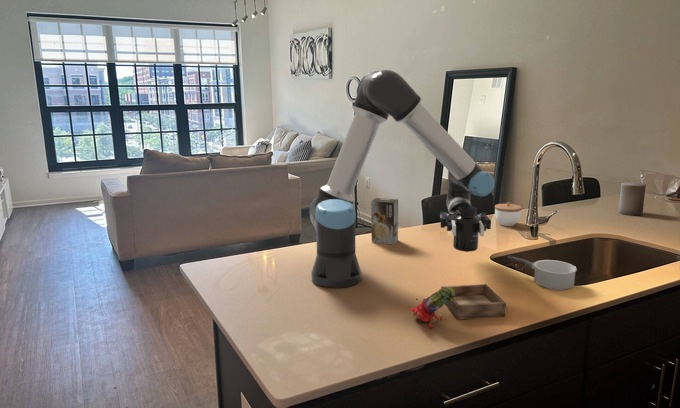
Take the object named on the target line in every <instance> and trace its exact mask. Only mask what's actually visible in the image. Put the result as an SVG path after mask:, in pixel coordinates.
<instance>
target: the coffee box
mask: <svg viewBox="0 0 680 408" xmlns="http://www.w3.org/2000/svg"><path fill="white" fill-rule="evenodd" d="M370 206H371V207H370V208H371V214H370V216H371V218H370V219H371V220H370V221H371V223H370V224H371V226H370V227H371V231H370V232H371V243H374V244H376V243H377V244H385V245H386V244H387V245H396V243H397V242H398V241H399V199H396V198H395V199H393V198H381V197H375V198H373V199H372V200H371V202H370Z"/></svg>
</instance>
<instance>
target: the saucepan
mask: <svg viewBox="0 0 680 408" xmlns="http://www.w3.org/2000/svg"><path fill="white" fill-rule="evenodd" d="M507 259H509V260H513V261H516V262H519V263H522V264H524V265H526V266H527V267H528V268H529V269H533V270H534V276H533V277H534V278H533V280H534V282H535V283H537V284H538V285H539V286H541V287H543V288H546V289H549V290H557V291H562V290H568V289H570V288H573V287H574V286H575V277H576V272H577V271H578V269H577V267H576V266H575V265H574V264H572V263H569V262H565V261H561V260H553V259H544V260H543V259H541V260H537V261H534V262H533V261H532V262H531V261H529V260H528V259H524V258H520V257H518V256H517V257H516V256H513V255H508V256H507Z"/></svg>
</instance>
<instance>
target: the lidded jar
mask: <svg viewBox="0 0 680 408" xmlns="http://www.w3.org/2000/svg"><path fill="white" fill-rule="evenodd" d="M494 215H495V219H496V221H497V222H498V223H499V225H501V226H504V227H513V226H516V224H517V223H518V222H519V221H520V219H521V215H522V206H521V205H519V204H514V203H510V202H509V201H508V202H506V203H497V204H495V205H494Z"/></svg>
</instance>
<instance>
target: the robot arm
mask: <svg viewBox="0 0 680 408" xmlns="http://www.w3.org/2000/svg"><path fill="white" fill-rule="evenodd" d="M352 110H353V112H354V113H353V114H354V116H353V117H352V120H351V122H350V125H349V128H348V130H347V133H346V135H345V138H344V140H343V143H342V145H341V148H340V150H339V153H338V154H337V155H338V156H337V157H336V160H335V163H334V166H333V168H332V170H331V172H330V175H329V178H328V181H327V183H326V184H325V185H323V186H320V189H319V191H318V193H317V196H316V197H315V198H314V199H313V200H312V202H311V204H310V207H309V211H308V215H309V220H310V222H311V224H312V226H313V227H314V230H315V232H316V233H315V235H316V256H315V260H314V262H313V265H312V269H311V281H312V283H314V284H315V285H317V286H320V287H323V288H331V289H332V288H334V289H338V288H339V289H340V288H348V287H353V286H355V285H357V284H359V283H360V282H361V281H362V270H361V267H360V264H359V260H358V258H357V257H358V256H357V255H356V254H357V253H356V219H357V214H356V208H355V206H354V202H355V199H354V197H353V192H354V189H355V187H356V185H357V183H358V179H359V176H360V175H361V172H362V169H363V167H364V165H365V162H366V160H367V157H368V155H369V153H370V150H371V148H372V145H373V142H374V140H375V137H376V135H377V133H378V130H379V129H380V128H379V127H380V125H382V124H383V123H385V122H387V121H388V118H389V116H390V117H392V119H393V120H394V121H395V122H396V123H402V124H403V125H404V126H405V127H406V128H407V129H408V131H410V132H411V133H412V135H414V137H416V139H418V141H420V143H422V144H423V146H424V147H425V148H426V149H427V151H429V152H430V153H431V154H432V155H433V156H434V157H435V158H436V160H438V162H440V164H441V165H442V166H443V167H444V168H445V169H446V170H447V193H446V196H447V197H446V203H445V205H446V209H447V211H448V212H445V211H440V213H439V220H440V228H442V229H443V228H446V232H451V234H452V236H453V237H454V236H456V224H455V218H456V217H457V216H459V214H458V211H459V207H460V206H472V204H471V194H472V195H474V196H477V197H486V196H488V195H490V194H491V192H492V191H494V190H493V189H494V188H495V180H494V177H493V175H492V174H490V173H488V171H485V170H483V169H482V168H481V167H480V166H479V164H477V163H476V162H475V161H474V160H473V158H472V157H471V156H470V155H469V154H468V153H467V152H466V151H465V149H464V148H463V147H462V146H461V145H460V144H459V143H458V142H457V141H456V140H455V139H454V138H453V137H452V136H451V134H450V133H449V132H448V131H447V130H446V129H445V128H444V127H443V126H442V124H440V122H438V121H437V119H436V118H435V117H434V116H433V115H432V114H431V113H430V112H429V111H428V109H427V108H425V106H424V105H423V104H422V98H421V97H420V95H419V94H418V93H417V92H416V91H415V90H414V89H413V88H412V86H411V85H410V84H409V83H408V82H407V81H406V79H404V77H403V76H401V75H400V74H399V73H397V72H395V71H393V70H390V69H383V70H376V71H371V72H369V73H366V74H365V75H364V76H363V77H362V78H361V79H360V80H359V82H358V85H357V88H356V97H355V99H354V101H353V104H352ZM472 207H473V206H472ZM475 216H476V217H477V218H478V219H479V235H480V237H484V236H485V232H486V231H487V230H491V229H492V228H491V227H492V226H491V225H492V220H491V219H490V218H489V217H488V216H487V213H486V212H481V213H479V214H478V213H476V215H475Z"/></svg>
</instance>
